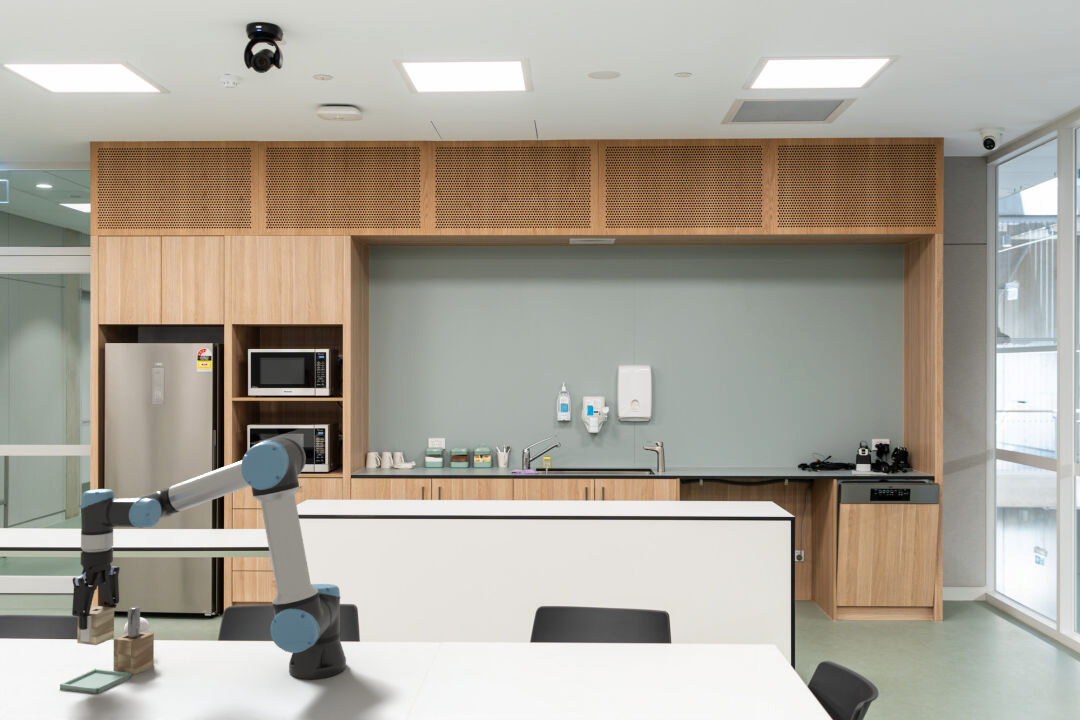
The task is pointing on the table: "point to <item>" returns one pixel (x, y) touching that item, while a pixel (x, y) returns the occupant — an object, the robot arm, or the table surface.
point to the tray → (95, 681)
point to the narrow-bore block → (99, 625)
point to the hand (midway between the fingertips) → (95, 636)
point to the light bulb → (143, 626)
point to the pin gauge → (133, 622)
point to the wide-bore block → (134, 653)
